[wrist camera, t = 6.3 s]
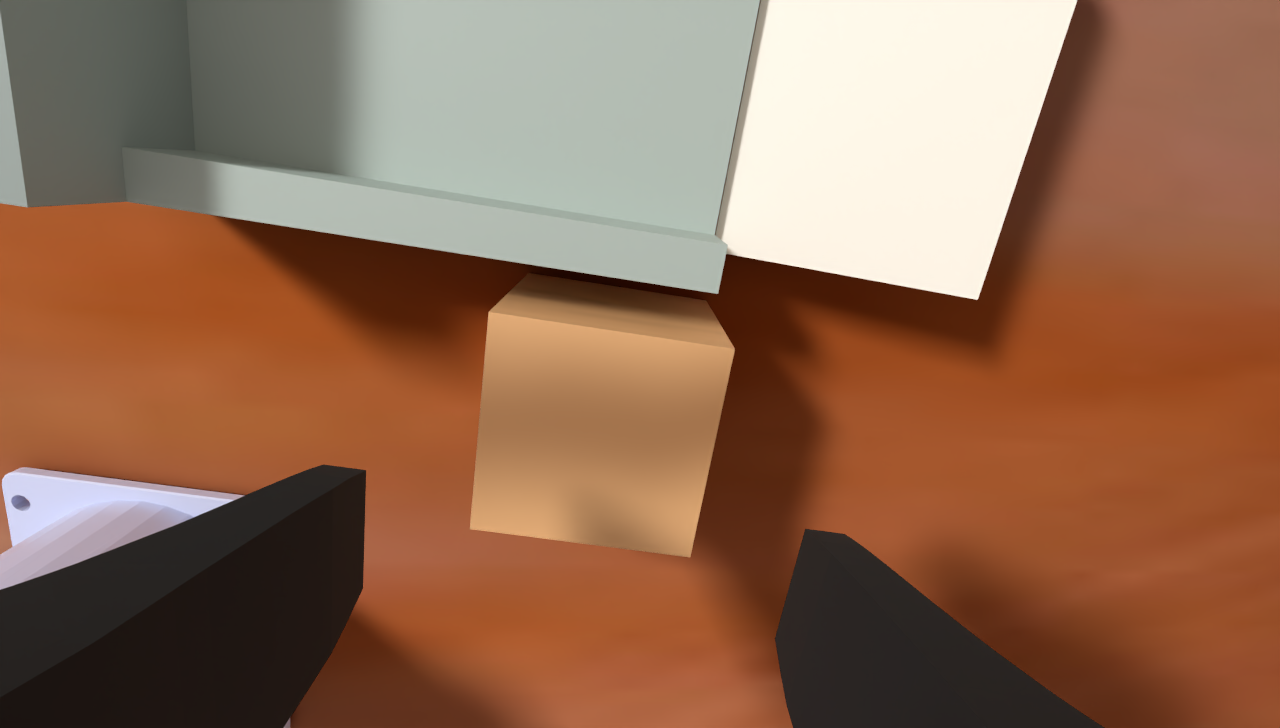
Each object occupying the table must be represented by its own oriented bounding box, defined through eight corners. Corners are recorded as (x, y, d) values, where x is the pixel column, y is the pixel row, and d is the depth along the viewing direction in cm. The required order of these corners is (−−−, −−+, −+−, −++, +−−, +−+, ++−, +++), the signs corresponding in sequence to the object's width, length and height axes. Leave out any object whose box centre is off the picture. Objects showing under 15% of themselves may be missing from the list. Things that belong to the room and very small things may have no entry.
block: (674, 458, 19) (690, 557, 14) (511, 435, 18) (470, 529, 13) (705, 299, 17) (734, 349, 12) (529, 272, 17) (488, 312, 12)
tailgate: (717, 245, 16) (956, 289, 15) (712, 251, 14) (977, 300, 13) (796, -156, 13) (1091, -132, 12) (800, -202, 12) (1136, -178, 11)
